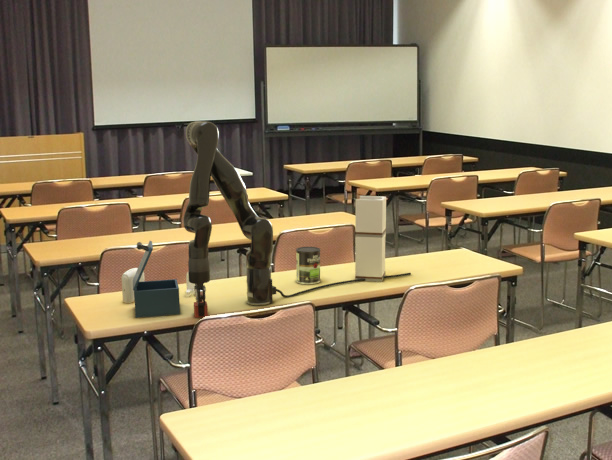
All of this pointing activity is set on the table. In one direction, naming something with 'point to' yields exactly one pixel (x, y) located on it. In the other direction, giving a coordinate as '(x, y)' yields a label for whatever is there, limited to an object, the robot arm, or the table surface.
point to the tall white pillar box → (370, 238)
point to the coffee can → (308, 265)
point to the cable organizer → (189, 286)
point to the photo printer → (129, 285)
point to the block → (197, 309)
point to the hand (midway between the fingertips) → (200, 313)
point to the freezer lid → (142, 262)
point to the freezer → (157, 298)
